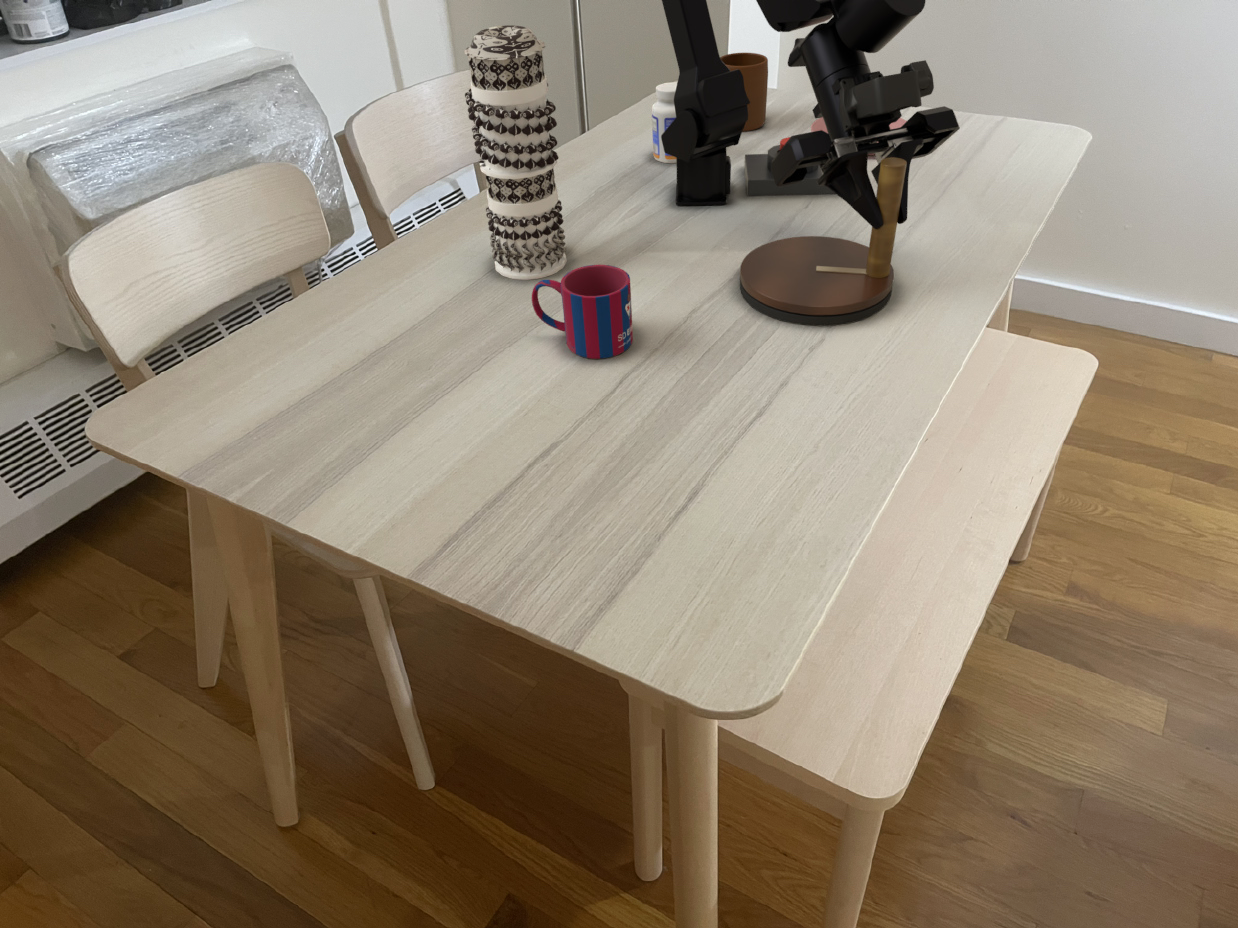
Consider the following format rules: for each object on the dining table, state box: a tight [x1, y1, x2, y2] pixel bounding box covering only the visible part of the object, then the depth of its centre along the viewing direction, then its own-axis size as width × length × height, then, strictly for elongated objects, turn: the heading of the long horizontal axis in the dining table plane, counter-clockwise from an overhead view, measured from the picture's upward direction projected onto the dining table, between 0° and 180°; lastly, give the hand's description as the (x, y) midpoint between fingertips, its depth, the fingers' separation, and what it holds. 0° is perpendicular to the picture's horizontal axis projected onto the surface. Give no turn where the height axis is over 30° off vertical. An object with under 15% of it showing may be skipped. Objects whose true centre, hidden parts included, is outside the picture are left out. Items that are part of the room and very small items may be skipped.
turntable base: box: [739, 278, 893, 327], centre depth 95 cm, size 16×16×1 cm
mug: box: [720, 52, 769, 133], centre depth 132 cm, size 12×8×9 cm, turn 142°
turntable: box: [739, 157, 907, 315], centre depth 91 cm, size 16×16×13 cm
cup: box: [531, 264, 634, 360], centre depth 88 cm, size 7×10×7 cm
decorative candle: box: [464, 24, 568, 281], centre depth 96 cm, size 9×9×25 cm
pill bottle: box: [651, 81, 677, 164], centre depth 124 cm, size 5×5×10 cm
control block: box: [743, 144, 837, 197], centre depth 117 cm, size 12×9×4 cm
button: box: [779, 136, 791, 150], centre depth 115 cm, size 4×4×2 cm
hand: (891, 224), depth 89 cm, fingers closed on turntable, 2 cm apart
